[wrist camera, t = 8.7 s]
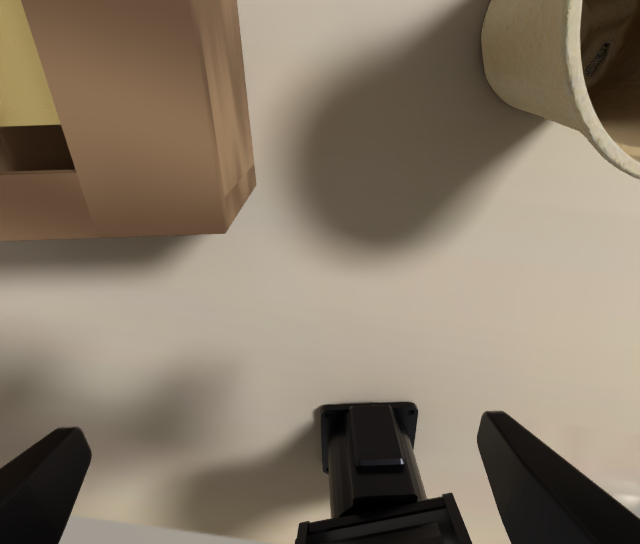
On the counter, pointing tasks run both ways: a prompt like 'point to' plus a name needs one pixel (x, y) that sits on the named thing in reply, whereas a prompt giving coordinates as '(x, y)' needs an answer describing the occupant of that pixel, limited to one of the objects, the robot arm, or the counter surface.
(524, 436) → the robot arm
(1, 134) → the coin box
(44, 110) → the block
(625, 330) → the counter surface
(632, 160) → the flower pot
